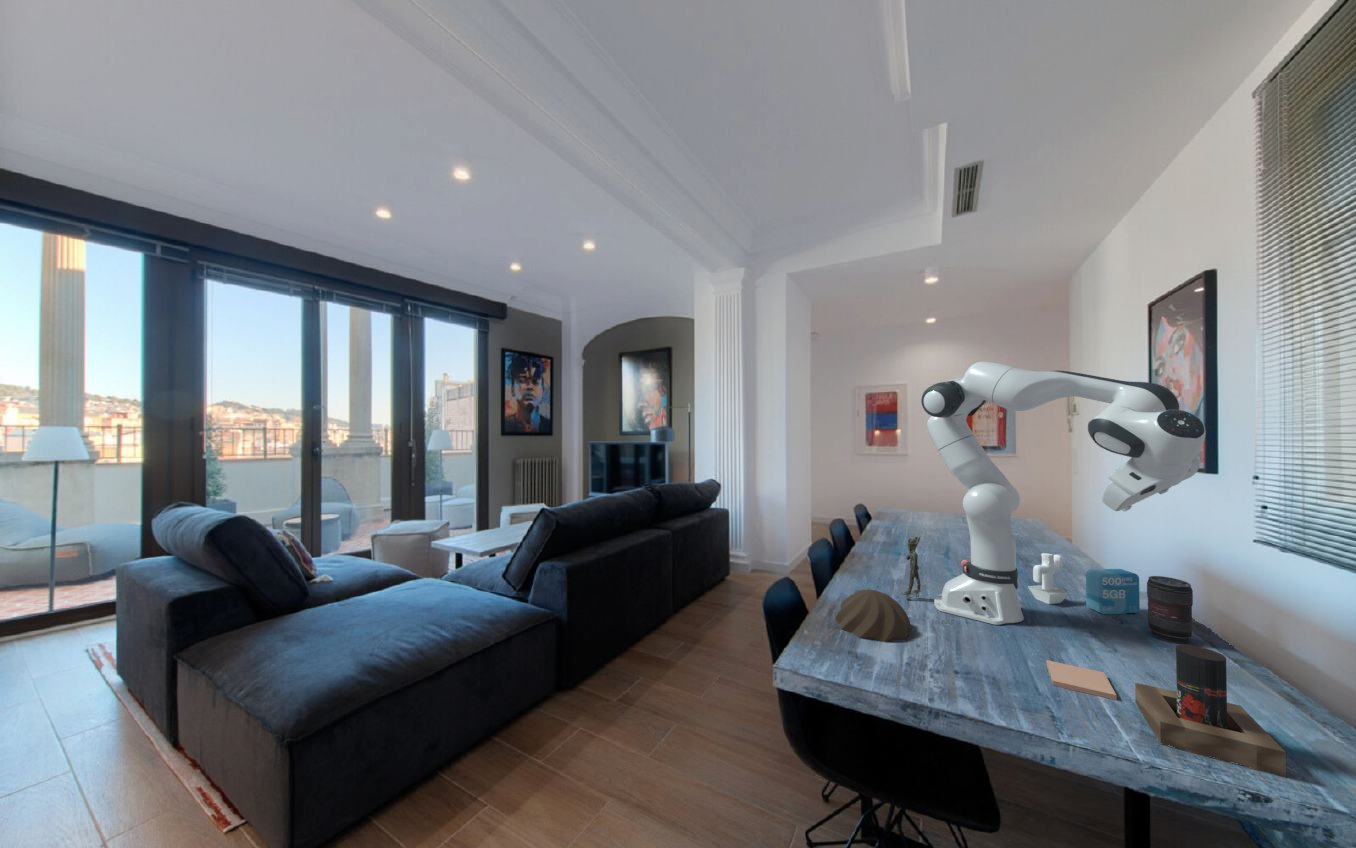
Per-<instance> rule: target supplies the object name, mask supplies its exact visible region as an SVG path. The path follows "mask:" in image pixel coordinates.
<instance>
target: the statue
mask: <svg viewBox="0 0 1356 848" xmlns="http://www.w3.org/2000/svg"><path fill="white" fill-rule="evenodd" d="M920 540H921V538H920V537H917V536H915V537H914V538H913V539H912V538H909V539H908V540H907V541H908V543H907V547H908V548H907V550H908V553H909V554H908V555H906V560H907V561H909V566H910V567H909V568H910V572H909V583H908V588H907V591H905V592H902V593H901V594H902V595H903V596H906V600H909V601H910V599H911V595H912V594H914V593H915V597H916V598H919V597H920V593H921V580H920V577H919V576H920V575H919V569H920V568H919V567H920V566H919V564H918V561H919V560H918V559H919V555H918V553H917V552H916V549H917V547H918V545H919V542H920ZM914 580H915V581H914ZM914 582H915V583H916V589H914V590H913V587H914V584H915V583H914Z"/></svg>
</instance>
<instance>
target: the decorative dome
mask: <svg viewBox="0 0 1356 848" xmlns="http://www.w3.org/2000/svg"><path fill="white" fill-rule="evenodd" d="M835 622H837V623H838V624H839V625H840V630H842V631H844V632H848V633H851V634H853V635H854V636H856V637H857V638H859V639H863V640H875V641H876V642H877V641H878V642H882V643H888V642H892V641H897V640H898V641H905V640H907V636H908V634H910V633H913V631H912V625H911V624H912V623H911V621H910V618H909V615H908V614H907V612H906V611H905V609H904V608H903V607H902V606H901V605H900V604H899V602H897V601H896V600H895V599H894V598H892V596H890V595H889V594H887V593H884V592H881V591H879V590H876V589H860V590H857V591H855V592H853V593H852V594H851V595H849V596H847V597H845V599H843V600H842V601H841V603H840V610H839V611H838V612H837V613H836V616H835Z"/></svg>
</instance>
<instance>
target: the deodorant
mask: <svg viewBox="0 0 1356 848" xmlns="http://www.w3.org/2000/svg"><path fill="white" fill-rule="evenodd" d="M1175 659H1176V660H1175V663H1176V669H1175V670H1176V671H1175V672H1176V692H1177V717H1178V718H1181V719H1185V720H1189V721H1193V722H1197V723H1202V724H1206V725H1210V726H1214V727H1218V728H1223V729H1227V703H1228V687H1227V686H1228V685H1227V684H1228V683H1227V681H1228V680H1227V657H1226V656H1225V655H1223V654H1221V653H1219V652H1217V651H1216V650H1215V651H1214V650H1212V649H1209V648H1206V647H1202V646H1198V645H1192V644H1183V643H1180V644H1177V645H1176V646H1175Z"/></svg>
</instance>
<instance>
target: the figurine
mask: <svg viewBox="0 0 1356 848" xmlns="http://www.w3.org/2000/svg"><path fill="white" fill-rule="evenodd" d="M1040 555H1041V564H1037V565H1036V564H1035V565H1033V568H1032V577H1033V578H1032V579H1033V582H1035V583H1038V584H1037V585H1028V586H1027V587H1028V589H1029V591H1030V592H1031V595H1033V597H1034V598H1035V599H1036V600H1038V601H1040V602H1042V603H1045V604H1047V605H1054V604H1061V603H1062V602H1063V601H1064V600H1065V599H1066V598H1067V596H1068V595H1069V594H1070V592H1069V591H1065V590H1063V589H1060V588H1057V587H1055V586H1054V581H1055V580H1054V574H1055V573H1056V574H1058V573H1061V572H1062V571H1063V556H1061V555H1060V554H1051V553H1046V552H1045V553H1044V552H1043V553H1040ZM1039 584H1040V585H1039Z"/></svg>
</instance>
